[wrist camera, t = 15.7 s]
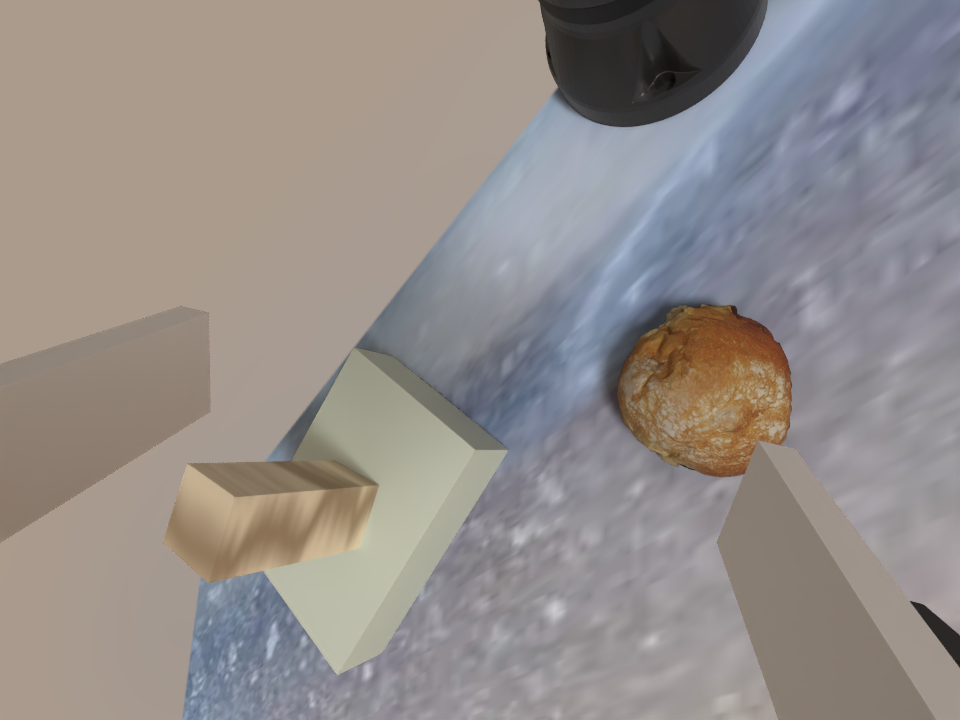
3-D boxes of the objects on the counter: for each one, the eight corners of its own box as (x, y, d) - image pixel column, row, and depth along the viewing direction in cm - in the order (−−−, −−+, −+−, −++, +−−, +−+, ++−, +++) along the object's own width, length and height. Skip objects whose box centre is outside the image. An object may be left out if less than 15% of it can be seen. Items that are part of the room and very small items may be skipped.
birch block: (334, 460, 42) (187, 463, 32) (379, 485, 39) (235, 497, 29) (315, 520, 42) (162, 542, 32) (358, 548, 40) (208, 583, 29)
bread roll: (632, 423, 40) (590, 471, 33) (647, 287, 36) (603, 312, 30) (782, 461, 34) (766, 527, 28) (816, 307, 31) (807, 343, 25)
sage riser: (393, 356, 47) (353, 347, 43) (508, 450, 40) (475, 450, 36) (291, 536, 50) (244, 544, 46) (382, 652, 43) (337, 675, 39)
